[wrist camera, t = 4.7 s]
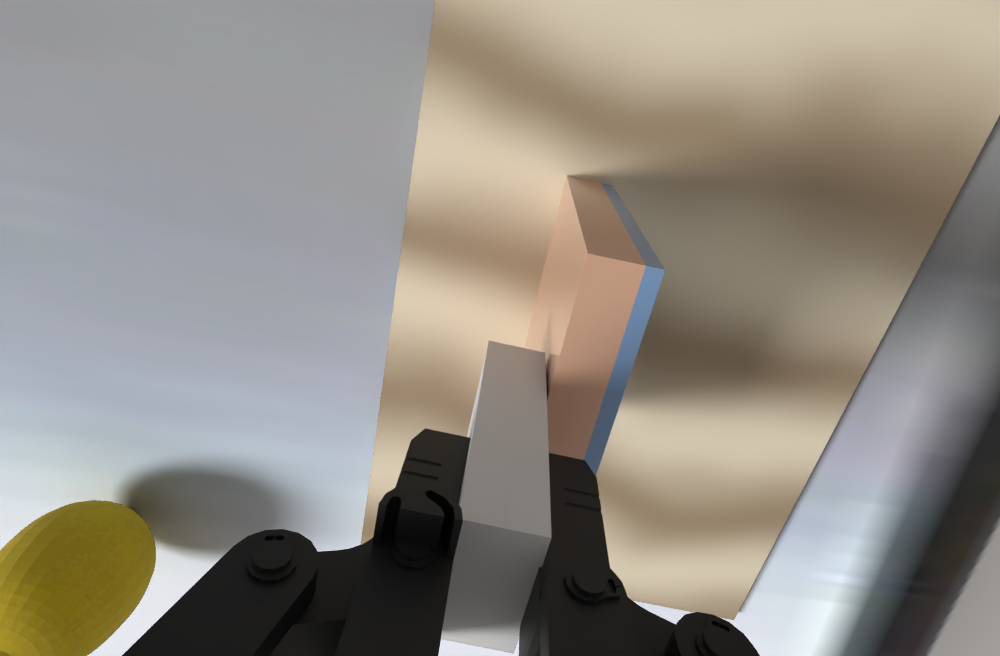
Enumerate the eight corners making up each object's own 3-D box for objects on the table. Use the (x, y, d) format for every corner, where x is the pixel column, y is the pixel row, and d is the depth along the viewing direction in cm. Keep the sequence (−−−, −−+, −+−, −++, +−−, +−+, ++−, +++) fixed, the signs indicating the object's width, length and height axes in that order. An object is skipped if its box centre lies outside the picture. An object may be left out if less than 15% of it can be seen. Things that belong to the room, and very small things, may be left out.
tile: (566, 175, 20) (587, 253, 12) (612, 185, 20) (665, 269, 12) (511, 398, 24) (499, 575, 16) (550, 406, 24) (558, 586, 16)
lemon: (190, 479, 27) (63, 634, 20) (188, 566, 29) (73, 734, 22) (68, 452, 27) (-107, 598, 19) (75, 542, 29) (-79, 703, 22)
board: (466, -210, 16) (464, -216, 16) (1082, -63, 17) (1094, -66, 17) (362, 541, 28) (360, 547, 27) (731, 612, 28) (733, 619, 28)
